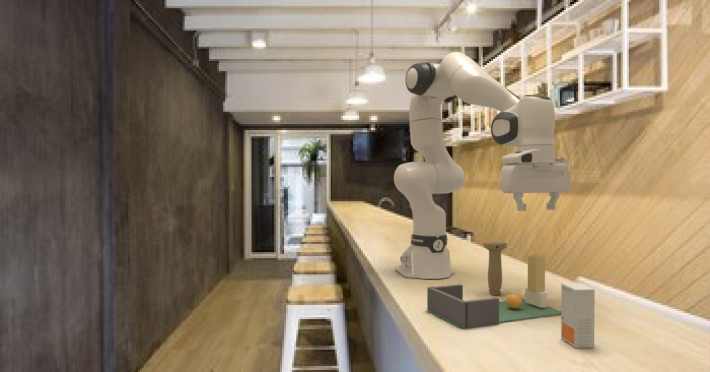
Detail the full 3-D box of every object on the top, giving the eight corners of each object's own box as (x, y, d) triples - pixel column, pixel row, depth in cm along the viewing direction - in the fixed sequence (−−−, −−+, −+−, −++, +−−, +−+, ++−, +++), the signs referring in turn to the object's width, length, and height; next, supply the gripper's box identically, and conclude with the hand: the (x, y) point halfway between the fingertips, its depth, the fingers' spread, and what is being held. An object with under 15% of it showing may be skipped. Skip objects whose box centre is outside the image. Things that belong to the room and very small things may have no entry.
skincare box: (560, 338, 108) (560, 282, 107) (579, 338, 108) (579, 282, 108) (574, 348, 102) (575, 289, 101) (595, 348, 102) (595, 288, 102)
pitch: (427, 311, 129) (427, 309, 129) (525, 300, 140) (525, 298, 140) (459, 328, 115) (459, 326, 115) (566, 314, 126) (566, 312, 126)
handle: (508, 296, 144) (508, 244, 144) (485, 296, 144) (485, 244, 144) (504, 292, 149) (504, 241, 148) (482, 292, 149) (482, 241, 149)
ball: (502, 307, 131) (502, 292, 131) (515, 306, 132) (515, 291, 132) (512, 311, 127) (512, 296, 127) (525, 310, 128) (525, 294, 128)
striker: (523, 302, 134) (523, 254, 134) (532, 301, 135) (533, 254, 135) (539, 307, 129) (539, 258, 128) (548, 306, 130) (549, 257, 129)
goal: (427, 310, 130) (427, 287, 130) (460, 306, 133) (460, 284, 133) (463, 329, 114) (463, 302, 114) (499, 324, 118) (499, 298, 118)
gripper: (559, 157, 138) (559, 208, 138) (496, 157, 130) (496, 210, 131) (577, 156, 132) (576, 209, 132) (512, 156, 125) (512, 212, 125)
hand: (536, 210), depth 131 cm, fingers open, 8 cm apart
